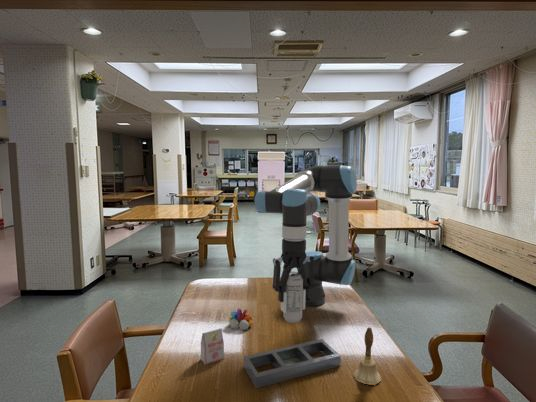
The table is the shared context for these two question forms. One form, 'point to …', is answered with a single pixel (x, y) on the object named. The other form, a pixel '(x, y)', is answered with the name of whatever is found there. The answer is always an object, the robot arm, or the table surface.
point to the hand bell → (367, 363)
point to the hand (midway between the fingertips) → (292, 309)
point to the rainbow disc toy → (240, 319)
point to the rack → (290, 362)
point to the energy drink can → (294, 298)
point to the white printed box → (212, 346)
